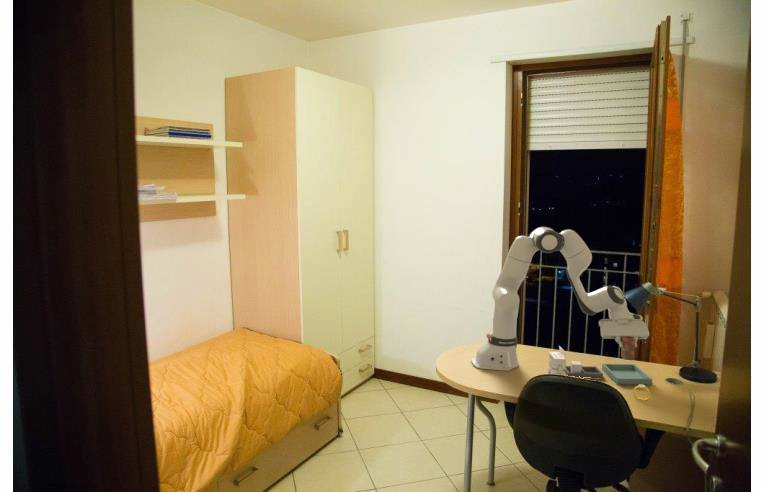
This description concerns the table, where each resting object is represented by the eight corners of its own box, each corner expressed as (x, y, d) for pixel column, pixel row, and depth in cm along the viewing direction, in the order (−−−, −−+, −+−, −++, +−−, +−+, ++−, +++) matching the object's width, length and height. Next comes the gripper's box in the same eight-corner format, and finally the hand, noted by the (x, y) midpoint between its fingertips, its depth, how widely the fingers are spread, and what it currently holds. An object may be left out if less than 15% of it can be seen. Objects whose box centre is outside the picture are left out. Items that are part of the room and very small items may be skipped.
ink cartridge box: (547, 375, 216) (548, 345, 214) (558, 375, 216) (559, 345, 214) (553, 384, 208) (555, 352, 205) (565, 384, 207) (566, 352, 205)
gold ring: (632, 399, 193) (632, 385, 193) (633, 396, 196) (633, 383, 195) (649, 402, 190) (649, 388, 190) (650, 399, 192) (650, 385, 192)
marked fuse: (624, 359, 210) (625, 340, 209) (620, 356, 214) (622, 337, 213) (633, 359, 210) (635, 340, 209) (629, 356, 214) (631, 337, 213)
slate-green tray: (617, 385, 206) (617, 378, 205) (602, 369, 222) (602, 363, 222) (651, 385, 205) (652, 379, 204) (634, 370, 221) (634, 364, 221)
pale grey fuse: (571, 376, 215) (572, 364, 214) (570, 373, 219) (570, 360, 218) (581, 377, 214) (581, 364, 213) (579, 373, 218) (580, 361, 217)
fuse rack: (568, 378, 213) (568, 373, 213) (562, 370, 221) (562, 365, 221) (602, 378, 212) (602, 373, 212) (595, 371, 220) (596, 366, 220)
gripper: (599, 315, 217) (607, 343, 209) (645, 316, 216) (654, 344, 208) (595, 322, 222) (602, 349, 214) (640, 322, 221) (649, 350, 213)
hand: (628, 347), depth 211 cm, fingers closed on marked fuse, 4 cm apart
